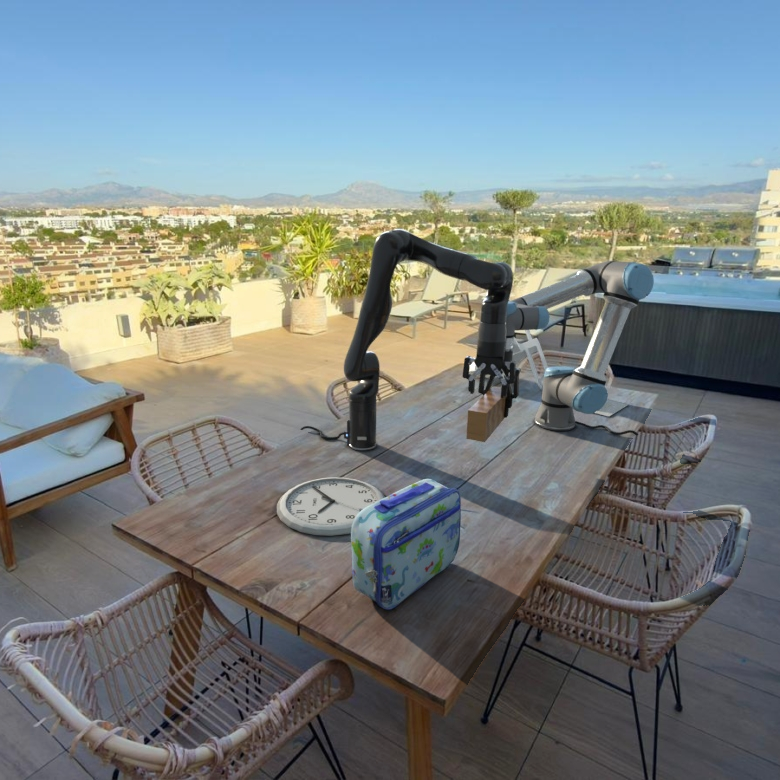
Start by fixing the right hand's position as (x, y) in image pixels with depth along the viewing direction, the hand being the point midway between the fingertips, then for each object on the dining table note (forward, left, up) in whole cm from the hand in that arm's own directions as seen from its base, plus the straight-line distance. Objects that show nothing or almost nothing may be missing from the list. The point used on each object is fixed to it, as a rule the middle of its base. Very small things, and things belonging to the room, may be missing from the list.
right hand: (496, 414), depth 179 cm
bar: (+3, +9, -1) cm, 10 cm away
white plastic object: (-11, -81, -12) cm, 82 cm away
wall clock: (+47, +47, -12) cm, 68 cm away
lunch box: (+24, +76, -12) cm, 81 cm away
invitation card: (-49, -52, -12) cm, 72 cm away
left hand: (+6, +30, +16) cm, 35 cm away
